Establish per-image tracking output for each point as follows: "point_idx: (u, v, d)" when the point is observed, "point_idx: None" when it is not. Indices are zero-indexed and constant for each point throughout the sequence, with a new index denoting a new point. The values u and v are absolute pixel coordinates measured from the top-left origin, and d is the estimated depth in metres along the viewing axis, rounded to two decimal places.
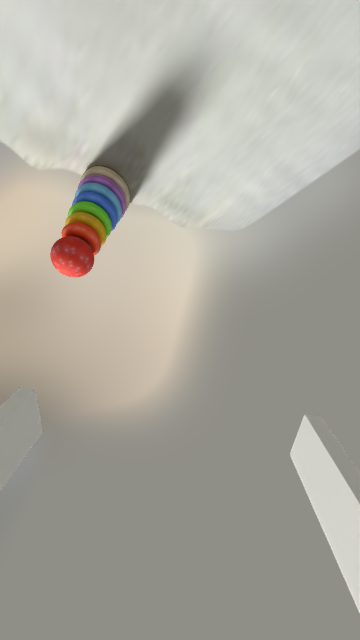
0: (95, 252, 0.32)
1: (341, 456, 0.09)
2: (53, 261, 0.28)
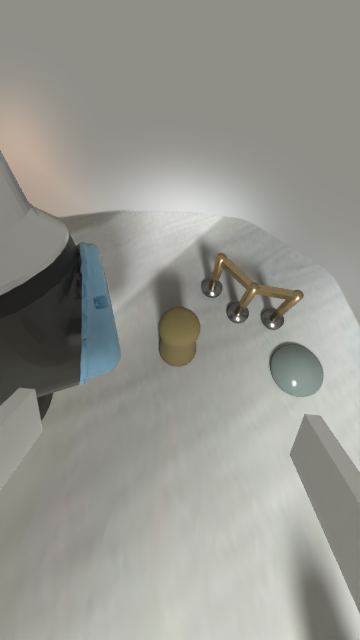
0: None
1: (341, 456, 0.09)
2: None
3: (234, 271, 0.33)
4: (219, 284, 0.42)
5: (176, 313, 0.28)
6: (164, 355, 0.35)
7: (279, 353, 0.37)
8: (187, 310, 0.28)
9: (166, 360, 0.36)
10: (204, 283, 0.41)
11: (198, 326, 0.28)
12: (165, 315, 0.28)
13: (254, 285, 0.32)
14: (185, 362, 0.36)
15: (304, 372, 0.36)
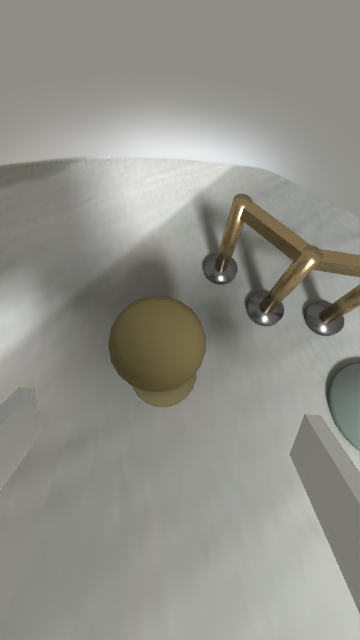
0: None
1: (341, 456, 0.09)
2: None
3: (269, 226, 0.16)
4: (232, 262, 0.25)
5: (147, 311, 0.12)
6: (137, 390, 0.18)
7: (343, 378, 0.21)
8: (175, 303, 0.12)
9: (142, 398, 0.20)
10: (207, 261, 0.25)
11: (201, 340, 0.12)
12: (122, 315, 0.12)
13: (312, 251, 0.16)
14: (177, 401, 0.19)
15: None
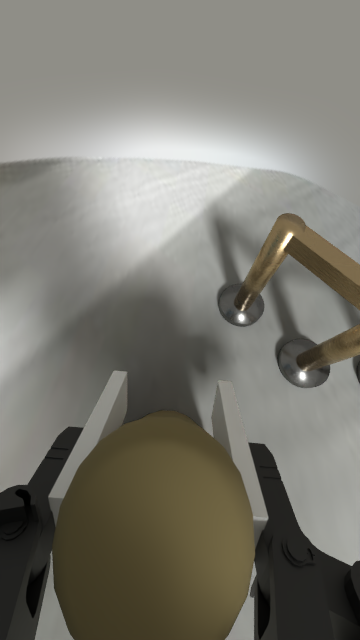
0: None
1: (232, 409, 0.11)
2: None
3: (338, 268, 0.10)
4: (257, 297, 0.19)
5: (135, 484, 0.05)
6: None
7: None
8: (193, 452, 0.06)
9: None
10: (224, 295, 0.19)
11: (250, 544, 0.05)
12: (82, 487, 0.06)
13: None
14: None
15: None
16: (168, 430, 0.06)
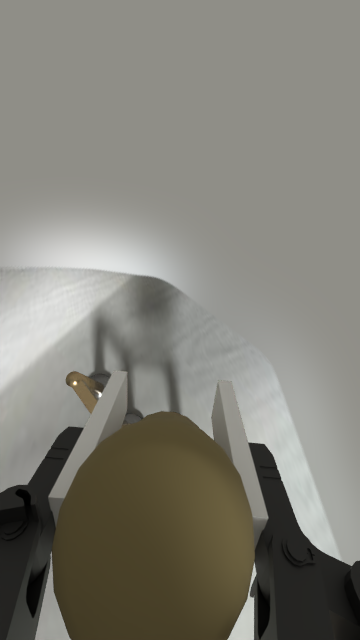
0: None
1: (232, 409, 0.11)
2: None
3: (87, 407, 0.21)
4: None
5: (135, 487, 0.05)
6: None
7: None
8: (193, 455, 0.06)
9: None
10: None
11: (250, 547, 0.05)
12: (82, 490, 0.06)
13: None
14: None
15: None
16: (168, 432, 0.06)
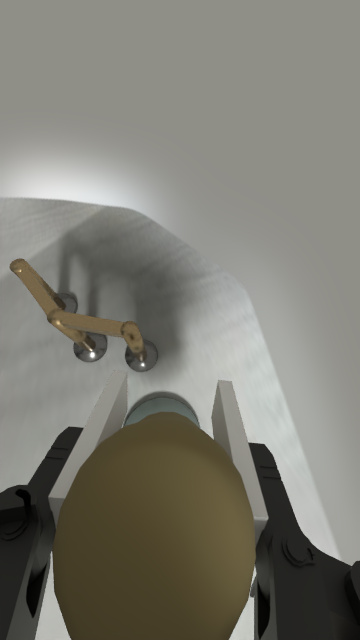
0: None
1: (232, 409, 0.11)
2: None
3: (30, 290, 0.19)
4: (72, 302, 0.28)
5: (136, 487, 0.05)
6: None
7: (138, 412, 0.24)
8: (194, 455, 0.06)
9: None
10: None
11: (251, 547, 0.05)
12: (83, 490, 0.06)
13: (56, 314, 0.19)
14: None
15: None
16: (169, 433, 0.06)
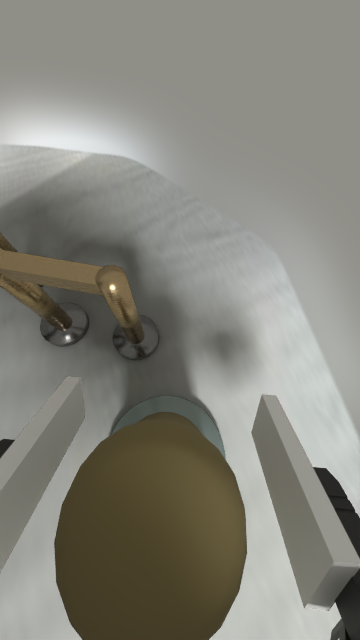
0: None
1: (286, 428, 0.10)
2: None
3: None
4: None
5: (133, 484, 0.06)
6: None
7: (131, 417, 0.16)
8: (189, 454, 0.06)
9: None
10: None
11: (242, 542, 0.06)
12: (83, 487, 0.06)
13: None
14: None
15: None
16: (165, 433, 0.07)
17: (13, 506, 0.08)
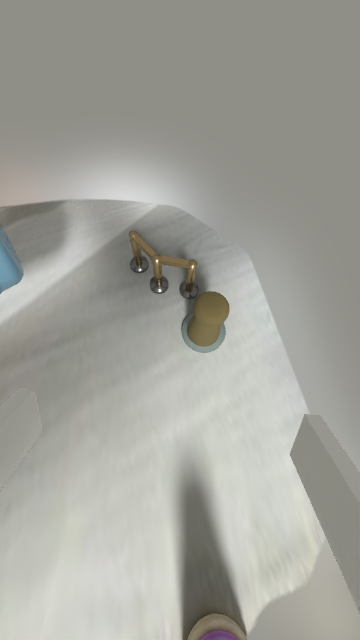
0: None
1: (341, 456, 0.09)
2: None
3: (141, 245, 0.39)
4: (145, 261, 0.48)
5: (209, 296, 0.33)
6: (193, 336, 0.40)
7: (190, 317, 0.43)
8: (218, 293, 0.33)
9: (194, 341, 0.41)
10: (132, 260, 0.48)
11: (228, 307, 0.33)
12: (200, 298, 0.33)
13: (156, 256, 0.38)
14: (211, 342, 0.41)
15: None
16: None
17: None
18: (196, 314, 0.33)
